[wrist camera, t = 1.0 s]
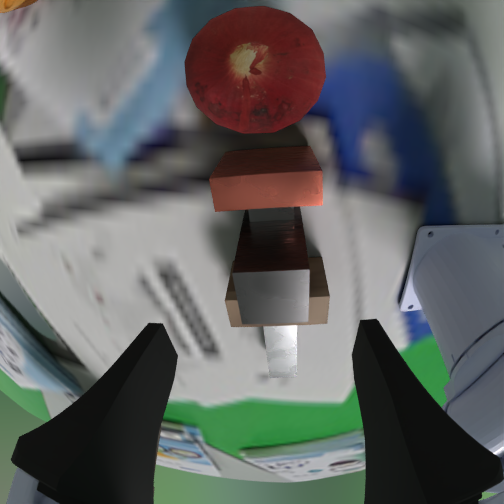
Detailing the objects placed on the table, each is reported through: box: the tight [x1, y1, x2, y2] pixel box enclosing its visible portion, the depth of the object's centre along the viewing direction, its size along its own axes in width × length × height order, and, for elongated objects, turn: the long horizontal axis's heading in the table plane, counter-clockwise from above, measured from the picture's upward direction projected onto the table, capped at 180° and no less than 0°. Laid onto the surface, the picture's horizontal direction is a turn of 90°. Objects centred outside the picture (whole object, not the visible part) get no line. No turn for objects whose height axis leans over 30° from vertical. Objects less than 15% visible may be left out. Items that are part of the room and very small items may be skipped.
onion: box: [185, 6, 326, 134], centre depth 10 cm, size 6×6×8 cm
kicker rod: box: [209, 146, 323, 378], centre depth 18 cm, size 5×19×7 cm, turn 7°
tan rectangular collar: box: [225, 257, 330, 327], centre depth 19 cm, size 6×2×4 cm, turn 96°
